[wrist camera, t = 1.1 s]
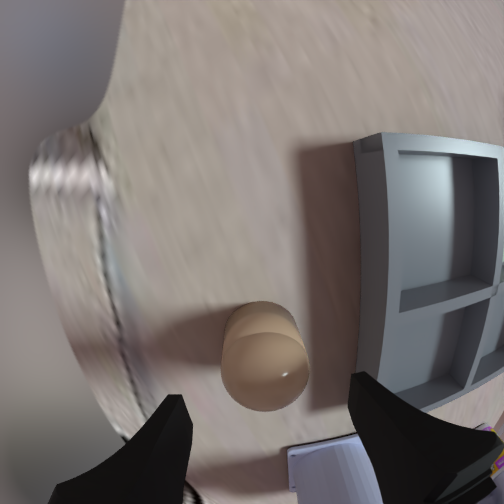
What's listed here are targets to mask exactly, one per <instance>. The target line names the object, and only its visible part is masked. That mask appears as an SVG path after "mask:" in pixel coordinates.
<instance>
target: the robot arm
mask: <svg viewBox="0 0 504 504" xmlns="http://www.w3.org/2000/svg"><path fill="white" fill-rule="evenodd" d="M348 409H349V412H350V416H351V419H352V422H353V425H354V427H355V429H356V431H357V434H354V435H350V436H346V437H342V438H338V439H333V440H329V441H324V442H319V443H314V444H309V445H303V446H297V447H291V448H289V449H288V450H287V459H288V476H289V491H290V492H296V493H297V499H298V504H504V471H502V472H501V473H500V474H499V475H497V476H496V477H495V478H494V479H493V480H492V478H491V477H490V476H491V475H492V474H493V472H492V470H491V469H490V467H491V466H492V464H493V463H494V462H495V461H496V460H497V458H498V457H499V456H500V454H501V453H502V451H503V450H504V443H503V441H502V440H501V439H500V438H499V436H498V435H497V434H496V433H495V432H494V431H485V430H477V429H471V428H467V427H462V426H459V425H455V424H452V423H449V422H446V421H443V420H440V419H438V418H435V417H433V416H431V415H429V414H427V413H425V412H423V411H421V410H419V409H417V408H415V407H414V406H412V405H410V404H409V403H407V402H405V401H404V400H402V399H401V398H399V397H398V396H397V395H395V394H394V393H392V392H391V391H390V390H388V389H387V388H386V387H384V386H383V385H382V384H380V383H379V382H378V381H377V380H375V379H374V378H373V377H372V376H370V375H369V374H368V373H367V372H365V371H362V372H358V373H354V374H351V382H350V391H349V399H348ZM192 435H193V423H192V421H191V418H190V416H189V413H188V410H187V408H186V405H185V402H184V400H183V397H182V394H168V395H167V397H166V398H165V399H164V400H163V402H162V403H161V404H160V405H159V407H158V408H157V409H156V411H155V412H154V413H153V414H152V416H151V417H150V418H149V419H148V420H147V422H146V423H145V424H144V425H143V426H142V428H141V429H140V430H139V431H138V432H137V433H136V434H135V435H134V436H133V437H132V438H131V439H130V440H129V441H128V442H127V443H126V444H125V445H124V446H123V447H122V448H121V449H119V450H118V451H117V452H116V453H115V454H114V455H112V456H111V457H109V458H108V459H106V460H105V461H104V462H102V463H101V464H99V465H98V466H96V467H95V468H93V469H91V470H89V471H87V472H85V473H83V474H81V475H79V476H77V477H76V478H73V479H70V480H68V481H65V482H62V483H60V484H57V485H56V487H55V489H54V491H53V493H52V495H51V498H50V500H49V502H48V504H182V503H183V488H184V482H185V477H186V472H187V467H188V462H189V457H190V451H191V446H192Z"/></svg>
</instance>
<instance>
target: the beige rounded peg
mask: <svg viewBox="0 0 504 504" xmlns="http://www.w3.org/2000/svg"><path fill="white" fill-rule="evenodd" d="M309 374H310V364H309V359H308V355H307V352H306V349H305V347H304V344H303V341H302V338H301V336H300V333H299V330H298V328H297V325H296V322H295V320H294V318H293V316H292V315H291V313H290V312H289V311H288V310H286V309H285V308H284V307H282V306H281V305H278V304H276V303H273V302H267V301H257V302H252V303H248V304H246V305H244V306H242V307H240V308H238V309H237V310H236V311H235V312H234V313H233V314H232V315H231V316H230V317H229V319H228V321H227V323H226V326H225V332H224V341H223V350H222V360H221V377H222V381H223V384H224V386H225V388H226V390H227V392H228V393H229V395H230V396H231V397H232V398H233V399H234V400H235V401H236V402H237V403H239V404H240V405H242V406H243V407H246V408H248V409H251V410H254V411H260V412H270V411H276V410H279V409H282V408H284V407H286V406H288V405H290V404H291V403H293V402H294V401H295V400H296V399H297V398H298V397H299V396H300V395H301V393H302V392H303V391H304V389H305V387H306V385H307V382H308V379H309Z"/></svg>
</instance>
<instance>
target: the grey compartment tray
mask: <svg viewBox="0 0 504 504" xmlns="http://www.w3.org/2000/svg"><path fill="white" fill-rule="evenodd" d="M353 147H354V155H355V164H356V174H357V185H358V199H359V215H360V240H361V297H360V321H359V337H358V350H357V362H356V371H355V373H358V372H362V371H365V372H367V373H368V374H369V375H370V376H372V377H373V378H374V379H375V380H377V381H378V382H379V383H380V384H382V385H383V386H384V387H386V388H387V389H388V390H390V391H391V392H392V393H394V394H395V395H397V396H398V397H399V398H401V399H402V400H404V401H405V402H407V403H409V404H410V405H412V406H414V407H415V408H417V409H419V410H421V411H423V412H425V413H426V412H429V411H431V410H433V409H436V408H438V407H440V406H442V405H444V404H447V403H449V402H451V401H453V400H455V399H457V398H459V397H461V396H463V395H465V394H467V393H469V392H470V391H472V390H474V389H476V388H478V387H480V386H481V385H483V384H485V383H486V382H488V381H490V380H491V379H493V378H495V377H496V376H498V375H500V374H501V373H503V372H504V147H502V146H497V145H492V144H487V143H481V142H475V141H469V140H462V139H455V138H447V137H439V136H429V135H418V134H405V133H387V132H381V133H377V134H374V135H371V136H368V137H365V138H362V139H359V140H356V141H353Z"/></svg>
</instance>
